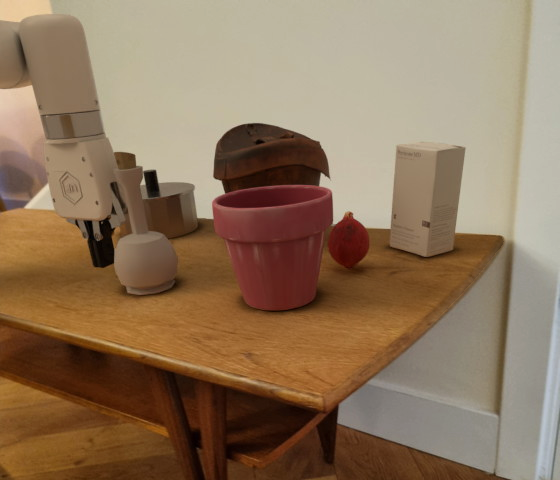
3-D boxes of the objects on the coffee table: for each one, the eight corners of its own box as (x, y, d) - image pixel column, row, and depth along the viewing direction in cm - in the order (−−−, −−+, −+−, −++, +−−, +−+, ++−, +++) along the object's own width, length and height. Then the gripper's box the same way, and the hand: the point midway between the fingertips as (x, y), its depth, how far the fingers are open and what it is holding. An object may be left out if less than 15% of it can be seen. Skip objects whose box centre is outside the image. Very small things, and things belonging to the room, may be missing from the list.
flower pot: (262, 274, 79) (254, 181, 73) (353, 285, 72) (352, 184, 66) (202, 310, 68) (186, 205, 62) (301, 327, 62) (294, 211, 56)
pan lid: (93, 203, 101) (87, 177, 99) (150, 187, 113) (145, 163, 111) (159, 207, 94) (154, 179, 92) (211, 188, 106) (208, 163, 104)
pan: (95, 241, 102) (85, 203, 99) (164, 216, 117) (158, 181, 114) (155, 247, 96) (147, 206, 92) (220, 219, 111) (216, 183, 107)
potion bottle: (106, 295, 76) (73, 156, 67) (143, 274, 83) (117, 146, 74) (159, 300, 73) (132, 155, 64) (193, 277, 80) (172, 144, 71)
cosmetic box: (388, 247, 86) (391, 145, 79) (416, 239, 88) (421, 139, 81) (429, 259, 79) (435, 148, 72) (457, 250, 82) (467, 142, 75)
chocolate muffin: (304, 259, 83) (297, 131, 75) (199, 249, 93) (182, 134, 84) (351, 229, 97) (350, 117, 88) (255, 223, 106) (245, 121, 97)
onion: (368, 275, 75) (369, 216, 71) (326, 276, 76) (324, 217, 72) (370, 262, 80) (370, 206, 76) (330, 262, 81) (329, 207, 77)
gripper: (12, 132, 72) (50, 267, 81) (93, 130, 65) (125, 278, 74) (57, 126, 78) (88, 253, 87) (137, 123, 71) (161, 262, 80)
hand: (105, 264), depth 80 cm, fingers closed
